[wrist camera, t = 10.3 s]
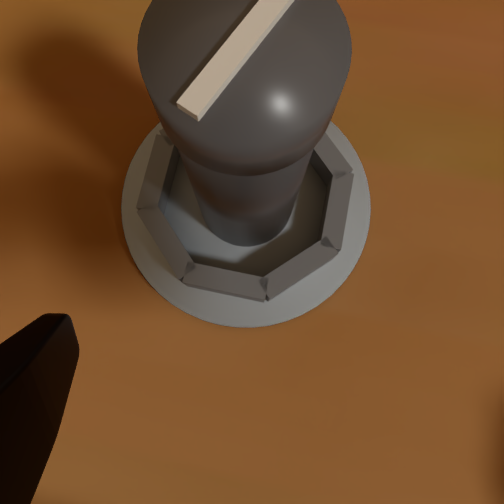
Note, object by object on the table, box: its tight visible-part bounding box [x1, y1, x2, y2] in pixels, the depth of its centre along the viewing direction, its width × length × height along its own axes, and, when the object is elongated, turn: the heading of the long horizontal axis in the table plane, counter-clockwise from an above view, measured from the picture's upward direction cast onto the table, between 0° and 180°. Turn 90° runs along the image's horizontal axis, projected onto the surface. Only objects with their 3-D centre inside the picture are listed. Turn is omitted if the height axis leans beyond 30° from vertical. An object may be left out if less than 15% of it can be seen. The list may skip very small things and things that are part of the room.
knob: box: [137, 0, 352, 247], centre depth 16 cm, size 5×5×12 cm
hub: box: [121, 121, 371, 328], centre depth 22 cm, size 13×13×2 cm
